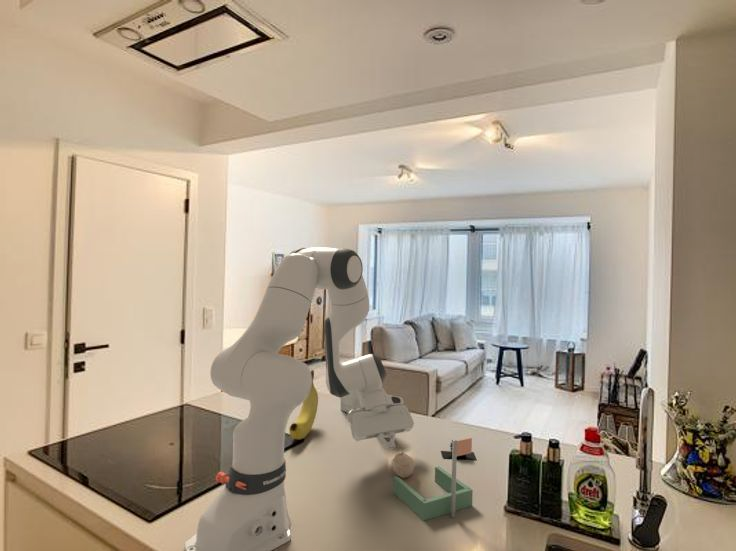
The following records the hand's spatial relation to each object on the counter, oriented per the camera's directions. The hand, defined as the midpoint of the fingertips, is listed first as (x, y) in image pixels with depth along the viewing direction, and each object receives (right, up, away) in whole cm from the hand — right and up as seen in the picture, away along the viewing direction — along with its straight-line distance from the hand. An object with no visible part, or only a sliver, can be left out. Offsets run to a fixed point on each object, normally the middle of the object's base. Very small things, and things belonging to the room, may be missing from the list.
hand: (390, 448), depth 127 cm
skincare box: (-13, -4, +46) cm, 48 cm away
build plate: (+21, -6, +7) cm, 23 cm away
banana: (-29, -4, +22) cm, 37 cm away
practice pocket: (+10, -5, -19) cm, 22 cm away
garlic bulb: (+3, -5, -7) cm, 9 cm away
